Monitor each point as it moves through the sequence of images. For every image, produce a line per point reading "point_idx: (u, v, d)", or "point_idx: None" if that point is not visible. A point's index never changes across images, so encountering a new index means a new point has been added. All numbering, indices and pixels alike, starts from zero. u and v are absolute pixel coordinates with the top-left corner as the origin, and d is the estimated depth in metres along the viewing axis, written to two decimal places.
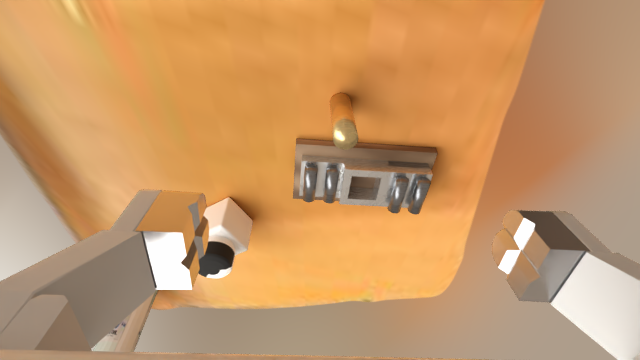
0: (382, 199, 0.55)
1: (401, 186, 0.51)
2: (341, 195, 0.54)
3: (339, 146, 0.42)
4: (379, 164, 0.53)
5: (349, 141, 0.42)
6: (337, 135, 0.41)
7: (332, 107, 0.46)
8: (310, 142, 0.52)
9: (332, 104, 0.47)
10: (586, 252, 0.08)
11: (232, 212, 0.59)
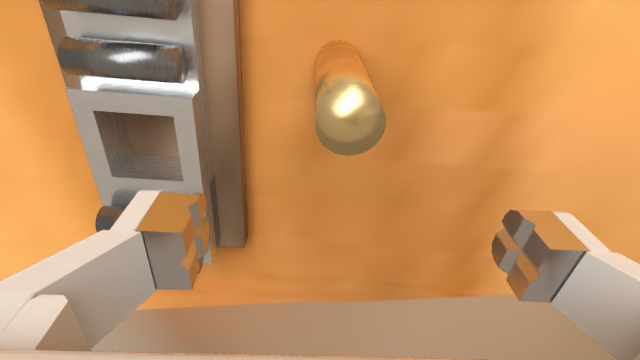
0: (119, 190, 0.23)
1: None
2: (99, 93, 0.19)
3: (326, 108, 0.14)
4: (208, 165, 0.24)
5: (342, 134, 0.15)
6: (363, 100, 0.14)
7: (354, 54, 0.20)
8: None
9: (353, 51, 0.21)
10: (586, 252, 0.08)
11: None
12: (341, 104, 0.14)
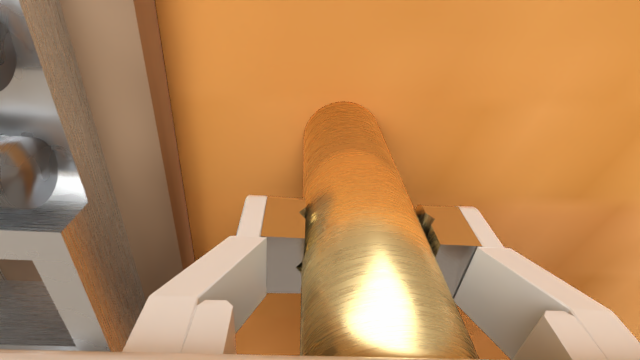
0: None
1: None
2: None
3: None
4: (128, 302, 0.14)
5: None
6: None
7: (376, 143, 0.10)
8: (148, 21, 0.10)
9: (372, 130, 0.11)
10: (478, 247, 0.07)
11: None
12: None
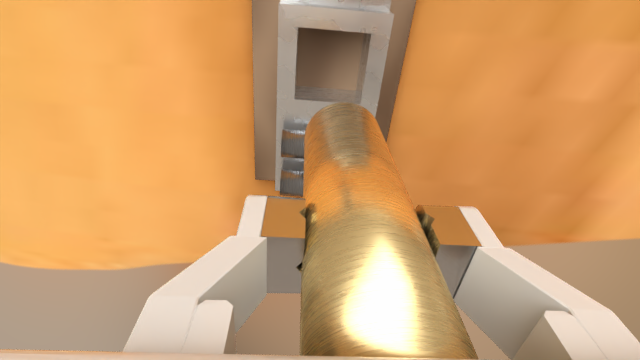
0: (297, 113, 0.24)
1: None
2: (308, 8, 0.21)
3: None
4: None
5: None
6: None
7: (376, 143, 0.10)
8: None
9: (373, 131, 0.11)
10: (477, 247, 0.07)
11: None
12: None
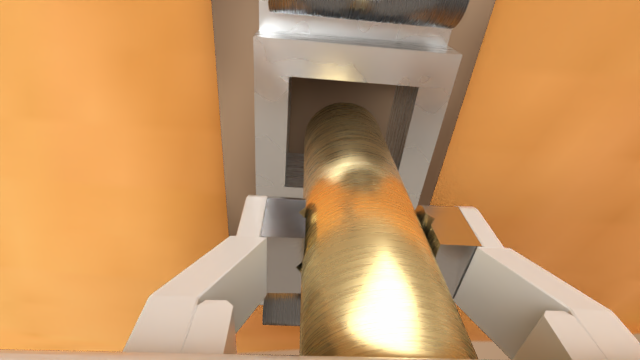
0: None
1: None
2: (308, 45, 0.11)
3: None
4: None
5: None
6: None
7: (376, 144, 0.10)
8: None
9: (373, 131, 0.11)
10: (477, 247, 0.07)
11: None
12: None
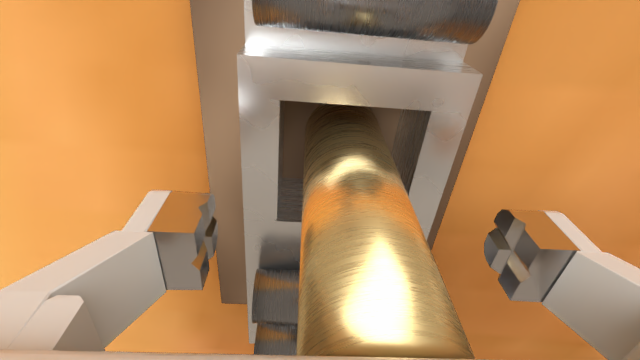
0: (283, 242, 0.13)
1: None
2: (301, 64, 0.10)
3: None
4: None
5: None
6: (428, 356, 0.05)
7: (374, 136, 0.11)
8: None
9: (371, 125, 0.12)
10: (576, 251, 0.08)
11: None
12: None
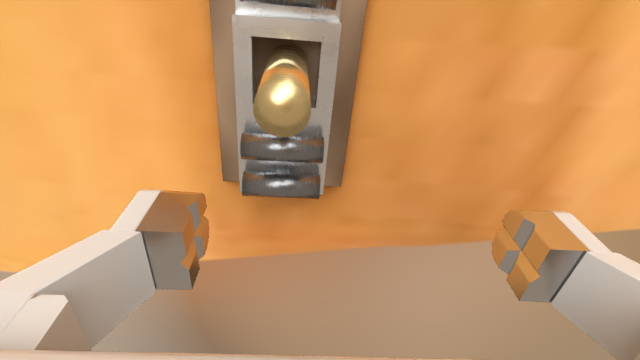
0: None
1: (316, 152, 0.25)
2: (260, 19, 0.22)
3: (260, 97, 0.17)
4: None
5: (276, 119, 0.18)
6: (290, 90, 0.17)
7: (296, 55, 0.23)
8: None
9: (297, 52, 0.24)
10: (586, 252, 0.08)
11: None
12: (272, 94, 0.17)
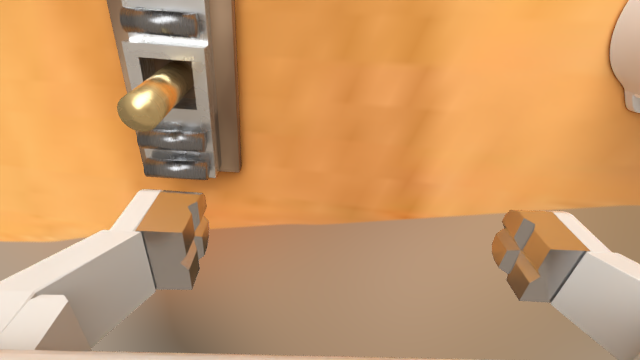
0: None
1: (196, 143, 0.33)
2: (143, 44, 0.30)
3: (121, 104, 0.25)
4: (213, 101, 0.35)
5: (136, 119, 0.26)
6: (141, 99, 0.25)
7: (174, 70, 0.31)
8: None
9: (178, 68, 0.32)
10: (586, 252, 0.08)
11: None
12: (129, 102, 0.25)
